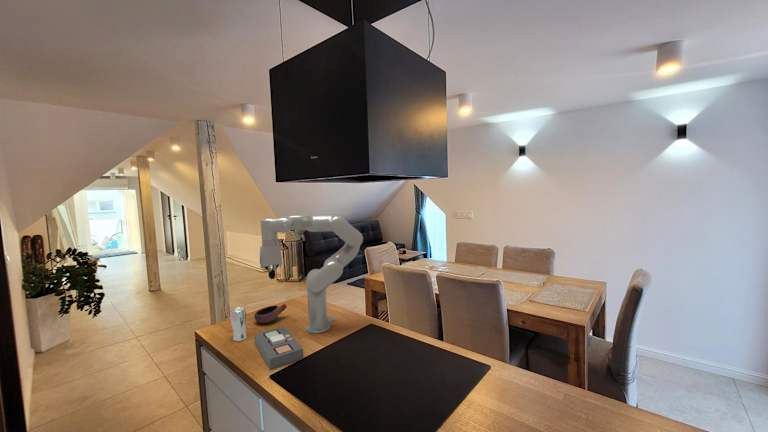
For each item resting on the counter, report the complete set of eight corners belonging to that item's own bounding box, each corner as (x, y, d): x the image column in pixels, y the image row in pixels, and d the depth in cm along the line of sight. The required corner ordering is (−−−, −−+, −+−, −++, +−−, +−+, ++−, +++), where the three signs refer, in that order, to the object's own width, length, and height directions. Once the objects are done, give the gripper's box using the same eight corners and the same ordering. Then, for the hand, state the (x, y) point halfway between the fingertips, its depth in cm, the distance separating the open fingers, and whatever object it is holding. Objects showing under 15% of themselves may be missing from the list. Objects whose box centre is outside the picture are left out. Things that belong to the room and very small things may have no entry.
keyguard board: (284, 334, 160) (283, 326, 160) (303, 358, 137) (302, 348, 137) (255, 343, 153) (254, 333, 152) (270, 369, 130) (269, 358, 129)
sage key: (276, 336, 156) (276, 330, 156) (280, 340, 152) (279, 334, 151) (265, 339, 153) (264, 333, 153) (268, 343, 148) (267, 337, 148)
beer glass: (241, 342, 154) (239, 312, 153) (229, 341, 155) (226, 311, 154) (250, 335, 161) (248, 307, 159) (238, 334, 162) (236, 306, 161)
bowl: (265, 328, 169) (264, 314, 168) (250, 323, 175) (249, 309, 175) (288, 317, 182) (288, 304, 182) (274, 313, 189) (273, 300, 188)
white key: (281, 340, 149) (281, 333, 148) (285, 344, 144) (285, 338, 144) (269, 343, 145) (269, 337, 145) (273, 348, 141) (272, 342, 141)
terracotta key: (288, 351, 141) (287, 344, 141) (292, 356, 137) (291, 349, 136) (275, 355, 138) (275, 348, 138) (279, 360, 134) (278, 353, 133)
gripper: (282, 240, 165) (284, 274, 167) (252, 243, 157) (255, 279, 158) (287, 241, 159) (289, 277, 161) (256, 245, 151) (258, 283, 152)
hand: (272, 278), depth 159 cm, fingers closed
